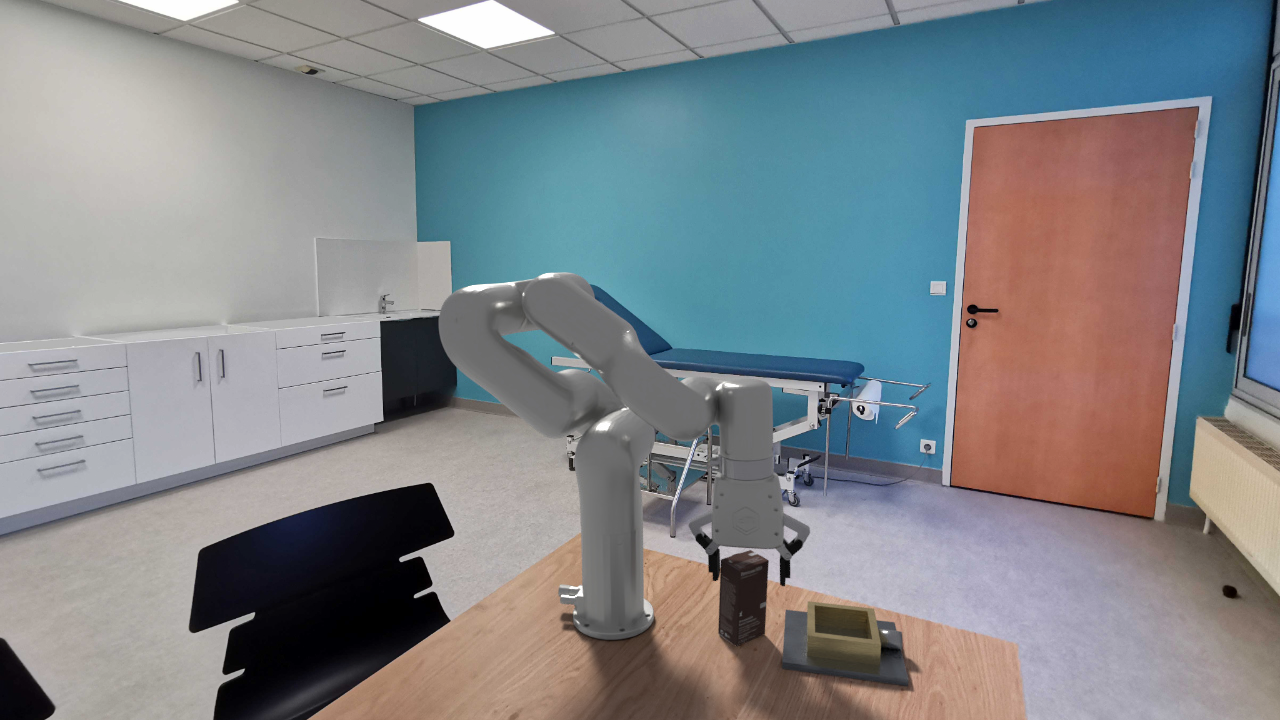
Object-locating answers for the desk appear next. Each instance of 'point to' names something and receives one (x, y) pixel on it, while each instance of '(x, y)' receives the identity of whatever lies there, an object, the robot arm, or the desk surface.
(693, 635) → the desk surface
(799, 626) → the square socket base
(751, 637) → the box
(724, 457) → the robot arm
